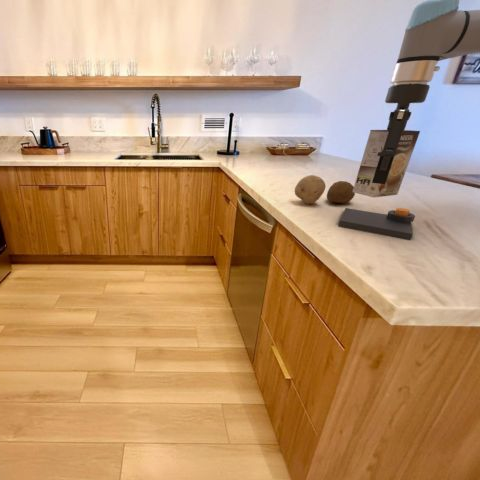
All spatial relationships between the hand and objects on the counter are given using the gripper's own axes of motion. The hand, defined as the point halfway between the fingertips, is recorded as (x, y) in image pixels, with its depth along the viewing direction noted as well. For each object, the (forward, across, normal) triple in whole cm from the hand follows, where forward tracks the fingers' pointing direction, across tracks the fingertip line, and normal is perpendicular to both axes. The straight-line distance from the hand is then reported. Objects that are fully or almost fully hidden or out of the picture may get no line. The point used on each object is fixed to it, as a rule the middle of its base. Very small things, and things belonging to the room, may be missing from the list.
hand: (379, 179), depth 76 cm
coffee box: (+4, 0, 0) cm, 4 cm away
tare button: (+10, +7, -7) cm, 14 cm away
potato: (+14, +21, +9) cm, 27 cm away
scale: (+13, +2, -2) cm, 14 cm away
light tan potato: (+14, +13, +18) cm, 26 cm away
